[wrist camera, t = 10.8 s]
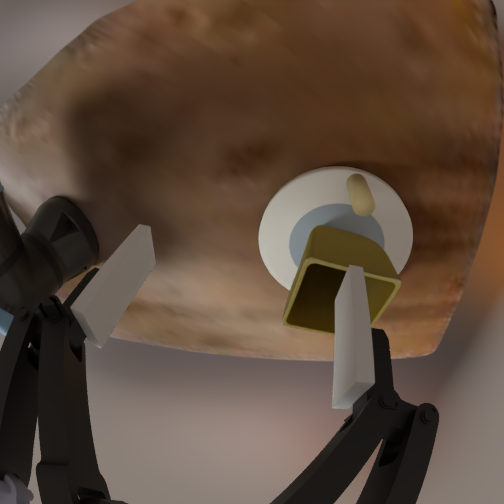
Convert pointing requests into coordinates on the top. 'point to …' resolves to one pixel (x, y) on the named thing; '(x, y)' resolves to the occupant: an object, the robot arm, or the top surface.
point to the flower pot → (337, 278)
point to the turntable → (332, 217)
